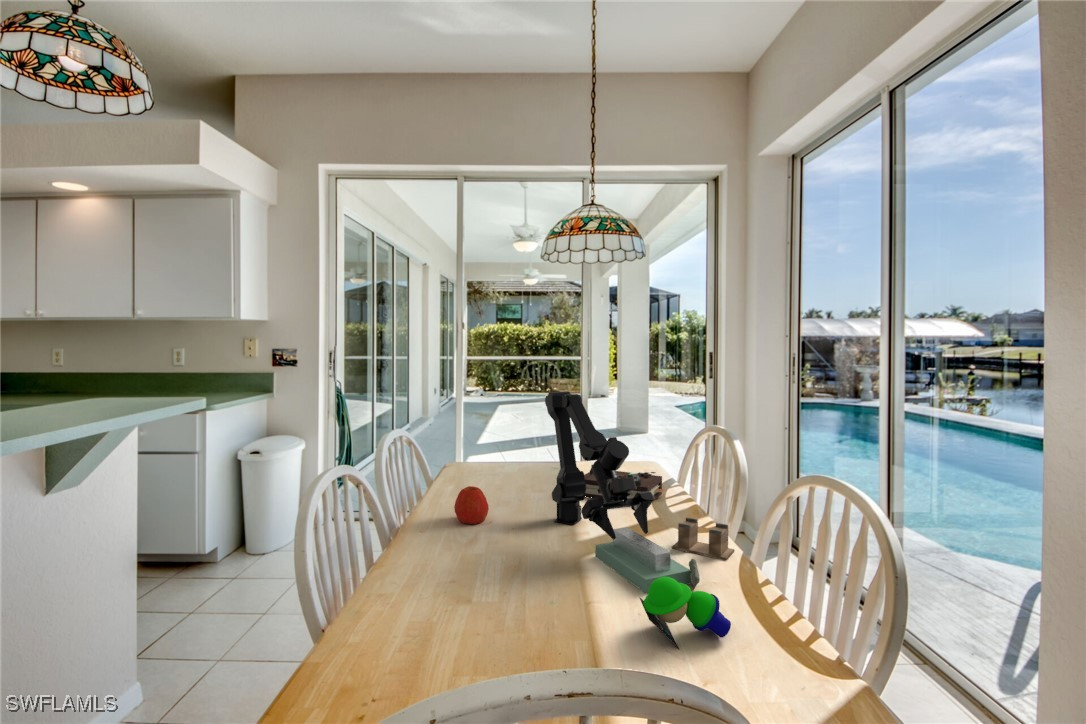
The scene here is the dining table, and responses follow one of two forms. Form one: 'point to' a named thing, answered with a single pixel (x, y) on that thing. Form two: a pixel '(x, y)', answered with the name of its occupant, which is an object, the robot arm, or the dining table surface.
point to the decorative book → (647, 484)
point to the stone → (694, 572)
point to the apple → (471, 505)
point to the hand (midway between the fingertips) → (630, 535)
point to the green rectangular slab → (638, 567)
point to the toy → (683, 608)
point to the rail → (642, 549)
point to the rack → (691, 544)
